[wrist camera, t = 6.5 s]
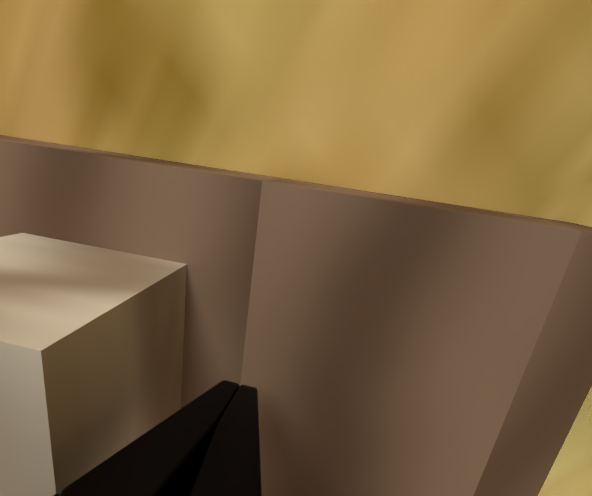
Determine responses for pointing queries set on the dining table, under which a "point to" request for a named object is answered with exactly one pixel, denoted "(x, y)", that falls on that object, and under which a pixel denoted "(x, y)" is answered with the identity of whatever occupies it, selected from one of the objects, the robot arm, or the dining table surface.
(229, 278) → the board
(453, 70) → the dining table surface
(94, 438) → the block
